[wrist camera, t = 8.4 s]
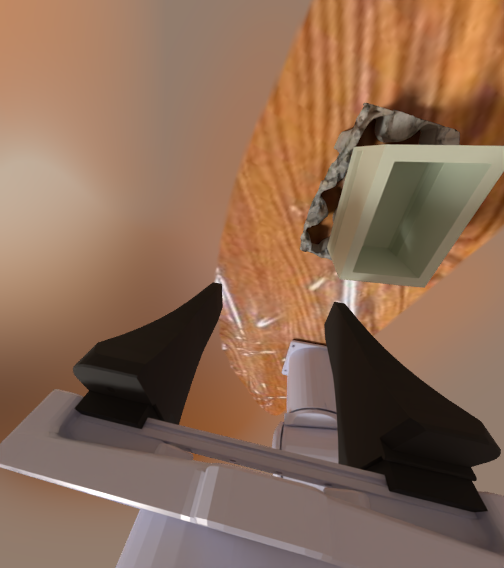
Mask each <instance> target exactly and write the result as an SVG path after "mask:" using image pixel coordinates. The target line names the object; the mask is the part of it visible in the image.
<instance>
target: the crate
mask: <svg viewBox="0 0 504 568" xmlns="http://www.w3.org/2000/svg"><path fill="white" fill-rule="evenodd" d="M503 172H504V146H471V145H390V144H385V145H373V146H361V147H354V148H353V152H352V156H351V159H350V163H349V167H348V171H347V174H346V178H345V182H344V186H343V190H342V193H341V197H340V201H339V205H338V208H337V212H336V216H335V220H334V223H333V227H332V231H331V235H330V238H329V242H328V246H327V249H328V251H329V254H330V256H331V259H332V261H333V264H334V266H335V269H336V272H337V274H338V277H339V279H342V280H353V281H363V282H373V283H383V284H393V285H403V286H414V287H424V288H425V286H426V285H427V283H428V282H429V280H430V279H431V277H432V276H433V274H434V273H435V271H436V270H437V268H438V267H439V266H440V264H441V263H442V261H443V260H444V258H445V257H446V255H447V254H448V252H449V251H450V249H451V248H452V246H453V245H454V244H455V242H456V241H457V239H458V238H459V236H460V235H461V233H462V232H463V230H464V229H465V227H466V226H467V224H468V223H469V222H470V220H471V219H472V217H473V216H474V214H475V213H476V211H477V210H478V208H479V207H480V205H481V204H482V202H483V201H484V200H485V198H486V197H487V195H488V194H489V192H490V191H491V189H492V188H493V186H494V185H495V183H496V182H497V180H498V179H499V178H500V176H501V175H502V173H503Z"/></svg>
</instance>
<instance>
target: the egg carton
mask: <svg viewBox="0 0 504 568" xmlns="http://www.w3.org/2000/svg"><path fill="white" fill-rule="evenodd" d="M363 105H364V107H363V109H362V111H361V113H360V114H359V116H358V117H357V119H356V122H355V126H354V128H353V129H351V130H348V131H343V132H342V133H341V134H340V135H339V137H338V140H337V142H336V144H335V147H334V148H335V149H336V150H337V151H338V152H339V153H340V154H339V156H338V157H337V159H336V161H335V162H334V163H332V165H331V166H330V168H329V170H328V173H327V175H326V177H325V180H324V181H321V183H320V187H319V190H318V192H317V194H316V196H315V198H314V200H313V202H312V204H311V207H310V210H309V213H308V216H307V219H306V221H305V224H304V231H303V234H302V236H301V247H300V250H302V251H305V252H306V251H308V252H311V253H314V254H316V255H317V256H319V257H322V258H327V259H330V260H332V259H331V256H330V254H329V251H328V249H327V246H328V242H329V238H330V237H328V238H325V239H323V240H322V241H321V242H320V243H319V244H314V243H311V239H310V235H309V233H308V232H307V231H306V229H307V228H308V227H311V226H314V225H317V224H319V223H320V222H321V221H322V220H323V219H324V218H325V217H327V216H328V213H329V212H328V210H327V205H326V203H325V201H324V199H323V198H322V197H321V196H320V195H321V193H322V192H323V191H325V190H328V189H331V188H333V187H335V186H336V184H337V182H338V181H340V180H341V179H343V178H344V177H345V173H346V171H347V170H348V167H349V163H350V159H351V156H350V155H351V153H352V151H353V148H354V147H356V145H357V143H358V141H359V139H360V137H361V135H362V133H363V131H364V130H365V128H366V127H367V126H368V124H369V123H370V122H371V121H372V120H373V119H376V124H375V135H376V137H377V139H378V140H379V141H381V142H400V141H404V140H406V139H408V138H410V137H411V136H413V135H414V134H415V133H416V132H417V131H418V130H420V131H421V134H420V137H419V145H459V141H460V132H458V131H457V130H455V129H452V128H449V127H444V126H442V125H439V124H436V123H433V122H430V121H427V120H422V119H419V118H416V117H414V116H412V115H409V114H406V113H403V112H400V111H397V110H393V111H391V110H389V109H385V108H382V107H379V106H375V105H372V104H369V103H364V104H363ZM336 212H337V209H336V210H335V211H334V213H333V217H332V218H333V223H334V220H335V216H336Z"/></svg>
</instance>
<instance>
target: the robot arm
mask: <svg viewBox="0 0 504 568" xmlns="http://www.w3.org/2000/svg"><path fill="white" fill-rule="evenodd" d="M222 307H223V304H222V284H219V283H212V284H210V285H209V286H208V287H206V288H205V289H204V290H203V291H201V292H200V293H199V294H198V295H196V296H195V297H193V298H192V299H191V300H189V301H188V302H187V303H185V304H184V305H182V306H181V307H179V308H178V309H176V310H174V311H173V312H171V313H169V314H167V315H166V316H164V317H162V318H160V319H158V320H156V321H154V322H152V323H150V324H147V325H145V326H143V327H141V328H138V329H136V330H133V331H131V332H128V333H126V334H123V335H120V336H117V337H114V338H111V339H108V340H105V341H102V342H98V343H97V344H96V345H95V346H94V347H93V348H92V349H91V350H90V351H89V352H88V353H87V354H86V355H85V356H84V357H83V358H82V359H81V360H80V361H79V362H78V363H77V364H76V365H75V366H74V368H73V372H74V375H75V376H76V377H77V378H78V379H79V381H81V383H82V384H83V385H84V386H85V387H86V388H87V389H88V390H89V392H88V393H87V394H86V395H85V396H84V397H83V396H81V395H78V394H75V393H71V392H67V391H63V390H58V389H56V390H53V391H52V392H51V393H50V394H49V395H48V396H47V397H46V398H45V399H44V400H43V402H41V403H40V404H39V405H38V406H37V407H36V408H35V409H34V410H33V412H31V413H30V414H29V415H28V416H27V417H26V418H25V420H23V421H22V423H20V424H19V425H18V426H17V428H15V429H14V431H12V432H11V433H10V434H9V435H8V437H7V438H6V439H5V440H4V441H3V442H2V443H1V444H0V467H1V468H5V469H8V470H11V471H14V472H18V473H21V474H24V475H27V476H31V477H34V478H37V479H41V480H45V481H48V482H51V483H54V484H58V485H61V486H64V487H68V488H71V489H75V490H78V491H81V492H85V493H88V494H91V495H95V496H98V497H101V498H105V499H108V500H111V501H115V502H118V503H121V504H125V505H128V506H132V507H135V508H138V509H140V511H139V513H138V516H137V518H136V520H135V523H134V525H133V528H132V530H131V532H130V535H129V537H128V539H127V542H126V544H125V547H124V549H123V551H122V554H121V556H120V558H119V561H118V563H117V566H116V568H504V496H502V495H498V494H494V493H489V492H478V491H477V490H476V488H475V486H474V484H473V482H472V481H476V476H475V474H474V472H473V470H472V469H471V467H472V466H476V465H479V464H483V463H486V462H490V461H492V460H495V459H497V458H498V457H499V456H500V454H501V449H500V448H499V447H498V445H497V444H496V442H495V441H494V439H493V438H492V436H491V435H490V434H489V432H488V431H487V429H486V428H485V426H484V425H483V423H482V422H481V421H480V420H478V419H477V418H475V417H474V416H472V415H470V414H469V413H468V412H466V411H464V410H463V409H462V408H460V407H459V406H457V405H456V404H454V403H452V402H451V401H449V400H448V399H447V398H445V397H444V396H442V395H441V394H440V393H438V392H437V391H435V390H434V389H433V388H431V387H430V386H428V385H427V384H426V383H424V382H423V381H422V380H420V379H419V378H418V377H417V376H416V375H414V374H413V373H412V372H411V371H409V370H408V369H407V368H406V367H405V366H403V365H402V364H401V363H400V362H399V361H398V360H397V359H395V358H394V357H393V356H392V355H391V354H390V353H389V352H388V351H387V350H386V349H384V347H383V346H382V345H381V344H380V343H379V342H378V341H377V340H376V339H375V338H374V337H373V336H372V335H371V334H370V333H369V332H368V330H367V329H366V328H365V327H364V326H363V325H362V324H361V322H360V321H359V320H358V319H357V318H356V316H355V315H354V314H353V313H352V312H351V310H350V309H349V308H348V307H347V306H346V305H345V304H344V303H338V302H334V304H333V306H332V308H331V311H330V313H329V315H328V317H327V320H326V322H325V324H324V325H325V340H326V345H327V346H324V345H318V344H313V343H307V342H302V341H296V340H292V341H291V343H290V346H289V350H288V353H287V356H286V359H285V363H284V366H283V369H282V374H284V375H287V413H285V418H284V422H280V423H279V424H278V426H277V428H276V429H275V432H274V436H273V444H272V448H271V447H267V446H263V445H259V444H255V443H251V442H246V441H242V440H238V439H234V438H230V437H226V436H222V435H218V434H213V433H209V432H205V431H201V430H197V429H193V428H188V427H185V426H180V425H179V422H180V419H181V415H182V412H183V409H184V405H185V402H186V399H187V396H188V393H189V390H190V386H191V384H192V381H193V378H194V375H195V372H196V369H197V366H198V364H199V361H200V358H201V355H202V353H203V351H204V348H205V346H206V344H207V342H208V340H209V338H210V336H211V334H212V332H213V330H214V328H215V326H216V324H217V321H218V319H219V316H220V313H221V310H222ZM186 451H187V452H186ZM189 452H191V453H195V454H199V455H203V456H207V457H210V458H215V459H218V460H222V461H226V462H230V463H234V464H238V465H242V466H246V467H250V468H254V469H257V470H261V471H265V472H269V473H273V476H272V475H268V474H264V473H261V472H256V471H253V470H249V469H245V468H241V467H237V466H233V465H228V464H222V463H212V464H211V463H205V462H200V461H194V460H193V455H192V454H191V453H189Z"/></svg>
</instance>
